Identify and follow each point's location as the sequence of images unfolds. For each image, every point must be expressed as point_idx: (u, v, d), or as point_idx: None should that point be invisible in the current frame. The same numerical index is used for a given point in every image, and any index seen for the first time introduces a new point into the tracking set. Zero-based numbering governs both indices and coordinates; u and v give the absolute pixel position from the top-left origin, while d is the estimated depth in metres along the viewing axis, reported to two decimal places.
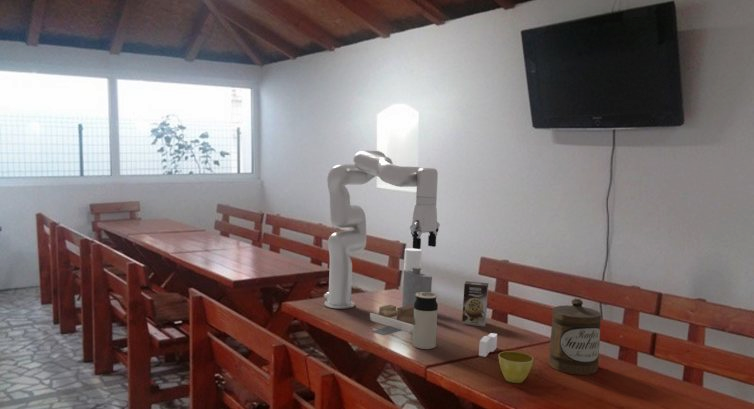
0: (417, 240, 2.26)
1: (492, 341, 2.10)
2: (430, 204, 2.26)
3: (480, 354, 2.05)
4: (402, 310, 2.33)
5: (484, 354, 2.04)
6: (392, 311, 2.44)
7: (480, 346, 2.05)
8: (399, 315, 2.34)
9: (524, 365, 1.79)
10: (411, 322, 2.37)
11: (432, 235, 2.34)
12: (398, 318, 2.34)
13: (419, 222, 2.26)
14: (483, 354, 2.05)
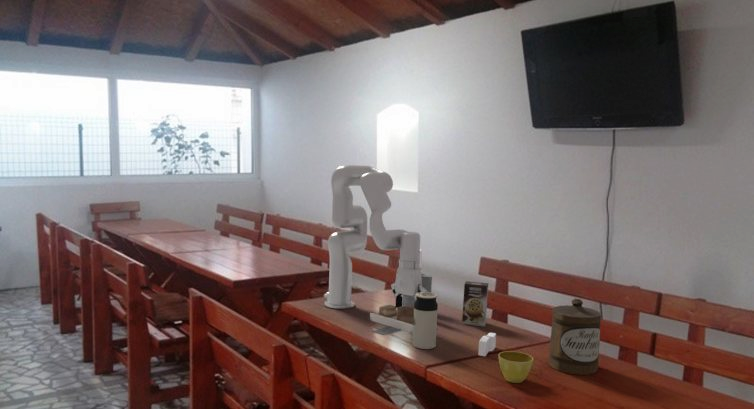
0: None
1: (491, 341, 2.11)
2: None
3: (479, 354, 2.05)
4: (402, 310, 2.33)
5: (484, 354, 2.05)
6: (392, 311, 2.44)
7: (479, 346, 2.05)
8: (399, 315, 2.34)
9: (524, 365, 1.79)
10: (411, 322, 2.37)
11: (400, 296, 2.39)
12: (398, 318, 2.34)
13: (420, 285, 2.33)
14: (483, 354, 2.05)
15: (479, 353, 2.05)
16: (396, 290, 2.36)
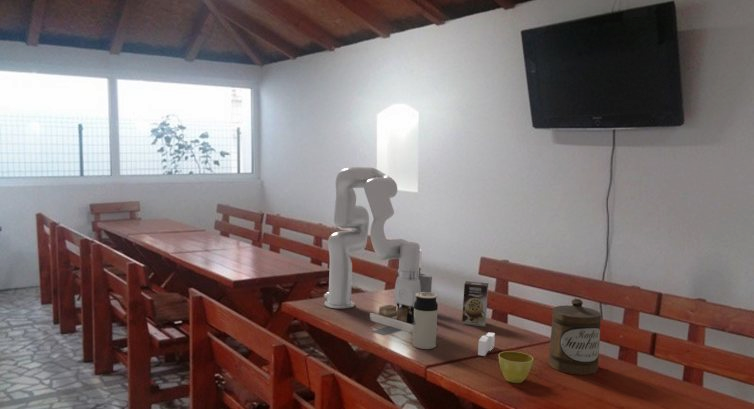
0: None
1: (490, 340, 2.11)
2: None
3: (479, 353, 2.06)
4: (402, 310, 2.33)
5: (483, 353, 2.05)
6: (392, 311, 2.44)
7: (479, 345, 2.05)
8: (399, 315, 2.34)
9: (524, 365, 1.79)
10: None
11: None
12: (398, 318, 2.34)
13: None
14: (482, 353, 2.05)
15: (479, 353, 2.06)
16: (395, 300, 2.37)
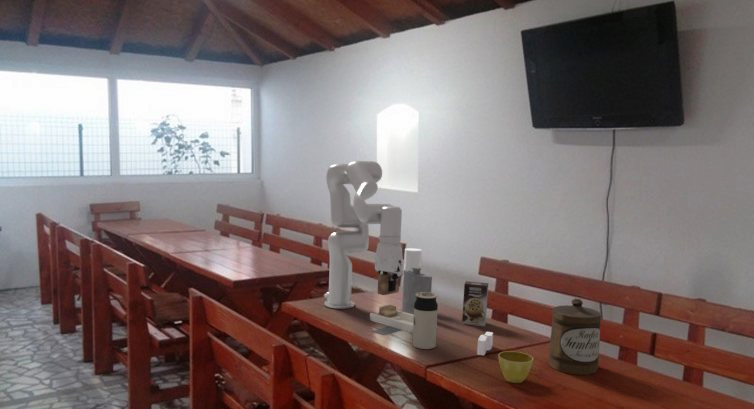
0: None
1: (489, 340, 2.12)
2: None
3: (478, 353, 2.06)
4: (383, 277, 2.23)
5: (482, 353, 2.06)
6: (392, 311, 2.44)
7: (478, 345, 2.06)
8: (380, 282, 2.24)
9: (524, 365, 1.79)
10: None
11: None
12: (379, 285, 2.25)
13: (401, 262, 2.24)
14: (481, 353, 2.06)
15: (478, 352, 2.06)
16: (376, 266, 2.27)
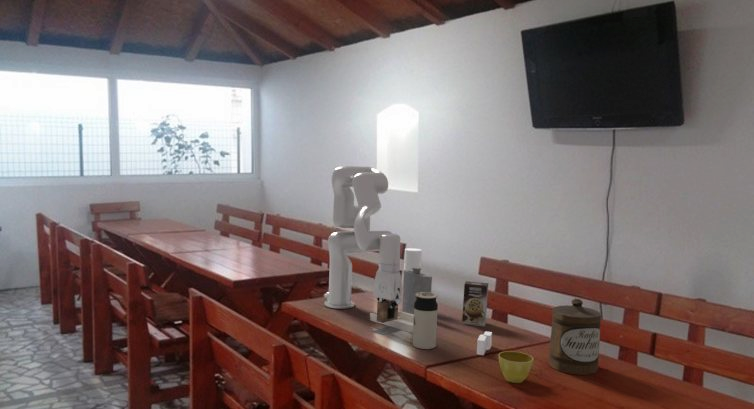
0: None
1: (488, 339, 2.12)
2: None
3: (478, 353, 2.06)
4: (382, 304, 2.24)
5: (482, 353, 2.06)
6: None
7: (478, 345, 2.06)
8: (379, 309, 2.25)
9: (524, 365, 1.79)
10: None
11: None
12: (378, 313, 2.25)
13: (400, 289, 2.24)
14: (481, 353, 2.06)
15: (477, 352, 2.06)
16: (375, 294, 2.28)
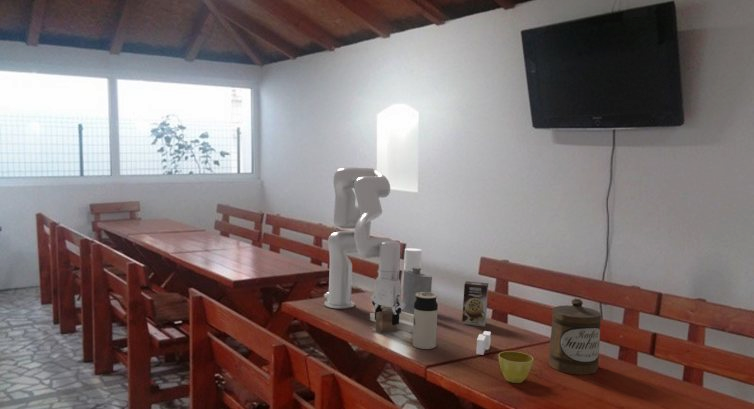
0: None
1: (487, 339, 2.12)
2: None
3: (477, 352, 2.07)
4: (381, 315, 2.25)
5: (481, 352, 2.06)
6: None
7: (477, 344, 2.06)
8: (378, 320, 2.26)
9: (524, 365, 1.79)
10: (391, 327, 2.28)
11: (379, 308, 2.31)
12: (377, 323, 2.26)
13: (399, 296, 2.25)
14: (480, 352, 2.06)
15: (477, 352, 2.07)
16: (374, 301, 2.28)
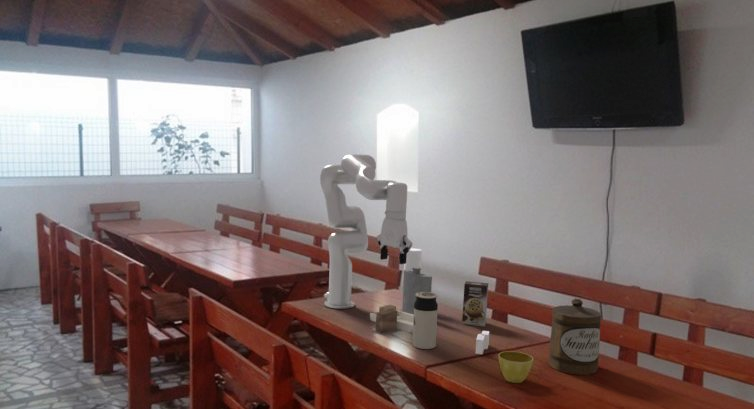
0: None
1: (486, 339, 2.13)
2: None
3: (477, 352, 2.07)
4: (381, 315, 2.25)
5: (481, 352, 2.07)
6: None
7: (477, 344, 2.07)
8: (378, 320, 2.26)
9: (524, 365, 1.79)
10: (391, 327, 2.28)
11: (385, 248, 2.35)
12: (377, 323, 2.26)
13: None
14: (480, 352, 2.07)
15: (476, 351, 2.07)
16: (381, 241, 2.32)
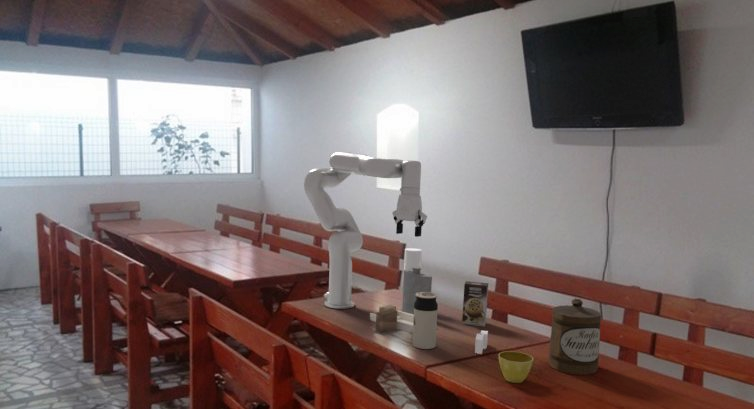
0: None
1: (485, 338, 2.13)
2: None
3: (476, 352, 2.07)
4: (381, 315, 2.25)
5: (480, 352, 2.07)
6: None
7: (476, 344, 2.07)
8: (378, 320, 2.26)
9: (524, 365, 1.79)
10: (391, 327, 2.28)
11: (400, 223, 2.50)
12: (377, 323, 2.26)
13: None
14: (479, 352, 2.07)
15: (475, 351, 2.07)
16: (397, 216, 2.47)
